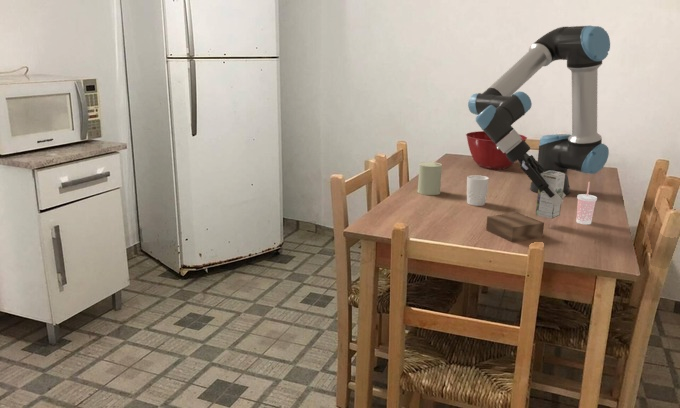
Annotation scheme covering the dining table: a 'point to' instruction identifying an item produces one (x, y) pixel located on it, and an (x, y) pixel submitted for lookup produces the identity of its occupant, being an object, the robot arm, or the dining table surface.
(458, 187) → the dining table surface
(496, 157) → the mixing bowl
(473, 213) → the dining table surface
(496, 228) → the walnut block
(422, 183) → the can
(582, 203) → the beverage cup
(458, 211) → the dining table surface
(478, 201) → the white cup
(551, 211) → the drink carton
